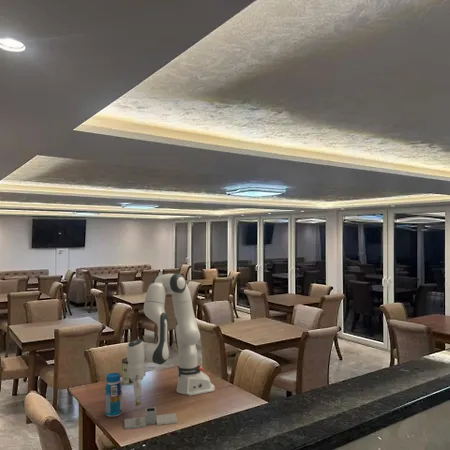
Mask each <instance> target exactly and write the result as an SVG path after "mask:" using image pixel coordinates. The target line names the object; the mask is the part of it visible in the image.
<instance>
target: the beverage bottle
mask: <svg viewBox="0 0 450 450" xmlns="http://www.w3.org/2000/svg"><path fill="white" fill-rule="evenodd" d="M120 381H121V374H120V373H118V372H111V373H108V374H107V375H106V382H107V384H106V385H105V388H104V390H105V393H104V397H105V401H104V402H105V416H107V417H112V418H113V417H118V416H120V415H121V414H122V413H123V401H122V400H123V397H122V395H123V390H122V388H123V387H122V384H121V382H120Z"/></svg>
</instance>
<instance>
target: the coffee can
mask: <svg viewBox="0 0 450 450" xmlns="http://www.w3.org/2000/svg"><path fill="white" fill-rule="evenodd" d="M121 378H122V379H121V381H122V382H121V383H122V385H127V386H129V385H130V386H131V385H132V386H133V381H131V379H130V378H128V360H127V357H125V358H123V359H121Z"/></svg>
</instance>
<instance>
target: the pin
mask: <svg viewBox="0 0 450 450" xmlns="http://www.w3.org/2000/svg"><path fill="white" fill-rule="evenodd" d="M141 402H142V401H141V400H140V401H139V402H137V401H136V400H135V406H136V407H139V406H141Z"/></svg>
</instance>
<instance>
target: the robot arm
mask: <svg viewBox="0 0 450 450" xmlns="http://www.w3.org/2000/svg"><path fill="white" fill-rule="evenodd" d="M167 294H171V299H172V304H173V305H172V306H173V311H174V312H173V313H174V317H175V319H176V323H177V324H176V326H175V329H174V330H175V337H176V343H177V344H176V345H177V352H178V353H177V354H178V366H177V375H178V377H177V378H178V380H177V386H176V392H177V393H178V394H181V395H187V396H189V397H191V396H196V395H200V394H201V395H202V394H207V393H213V392H214V391H215V390H216V388H215V385H214V384H213V383H212V382H211V378H210V377H209V376H208V375H207V374H206V373H205V372H203V370H204V368H203V367H202V366H201V365H200V364H199V363H198V350H197V346H196V345H197V344H198V343H199V341H200V339H201V332H200V329H199V325H198V322H197V319H196V315H195V311H194V306H193V301H192V296H191V295H192V294H191V292H190V289H189V286H188V284H187V280H186V278H185V276H184V275H183V274H181V273H165V274H158V275H155V277H154V278H153V279H152V281H151V283H150V284H149V285H148V288H147V291H146V294H145V298H144V304H143V313H144V315H145V316H146V317H147V318H148V319H149V320H150V321H152V322H154V323H155V324H156V327H157V343H153V342H152V343H151V342H145V341H143V339H139V338H138V339H133V340H131V341H130V342H128V344H127V348H126V350H127V351H126V358H127V360H128V378H130V379H131V381H133V384H132V386H133V393H134V398H135V402H136V401H137V402H139V401H140V402H141V398H142V397H143V383H142V381H143V380H144V377H145V376H146V364H145V363H151V364H152V363H153V364H157V365H163V364H165V362H167V361H168V359H169V357H170V347H169V317H168V315H167V313H166V310H165V305H166V304H165V303H166V297H167Z"/></svg>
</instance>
